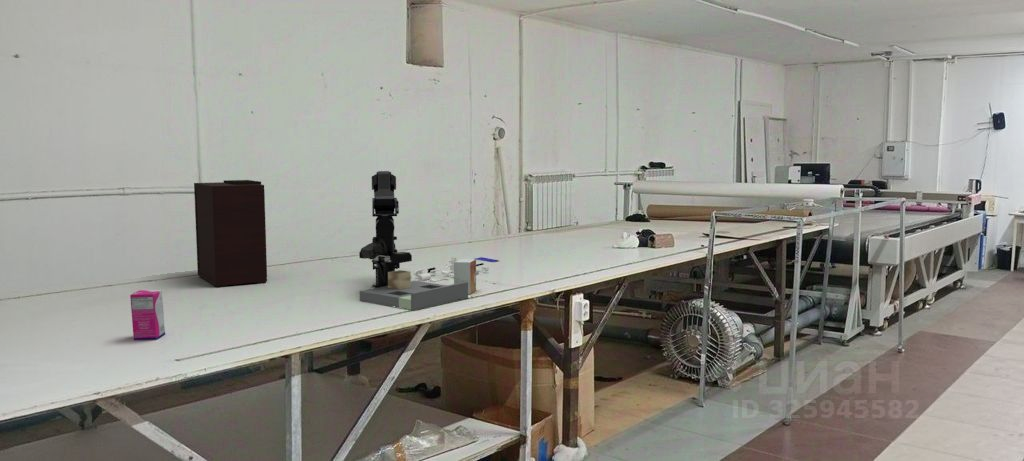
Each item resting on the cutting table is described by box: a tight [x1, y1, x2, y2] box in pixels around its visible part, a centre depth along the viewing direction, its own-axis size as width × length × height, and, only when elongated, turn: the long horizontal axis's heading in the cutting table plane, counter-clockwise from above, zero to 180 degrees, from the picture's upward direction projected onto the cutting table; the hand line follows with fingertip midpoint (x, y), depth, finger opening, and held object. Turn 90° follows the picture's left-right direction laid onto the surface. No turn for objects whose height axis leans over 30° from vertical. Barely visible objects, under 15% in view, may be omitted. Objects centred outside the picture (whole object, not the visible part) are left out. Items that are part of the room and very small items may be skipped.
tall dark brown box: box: [193, 179, 268, 288], centre depth 272 cm, size 19×27×35 cm
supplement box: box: [129, 289, 166, 341], centre depth 190 cm, size 6×6×12 cm
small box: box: [453, 258, 477, 295], centre depth 251 cm, size 8×6×10 cm
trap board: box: [359, 280, 469, 311], centre depth 239 cm, size 23×24×5 cm
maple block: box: [388, 269, 412, 289], centre depth 242 cm, size 5×5×5 cm
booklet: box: [449, 256, 500, 263], centre depth 317 cm, size 12×25×1 cm, turn 130°
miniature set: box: [411, 256, 489, 283], centre depth 283 cm, size 6×35×12 cm
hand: (385, 282), depth 246 cm, fingers closed
